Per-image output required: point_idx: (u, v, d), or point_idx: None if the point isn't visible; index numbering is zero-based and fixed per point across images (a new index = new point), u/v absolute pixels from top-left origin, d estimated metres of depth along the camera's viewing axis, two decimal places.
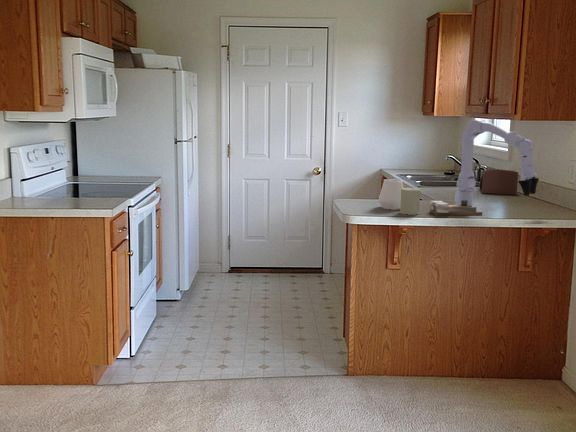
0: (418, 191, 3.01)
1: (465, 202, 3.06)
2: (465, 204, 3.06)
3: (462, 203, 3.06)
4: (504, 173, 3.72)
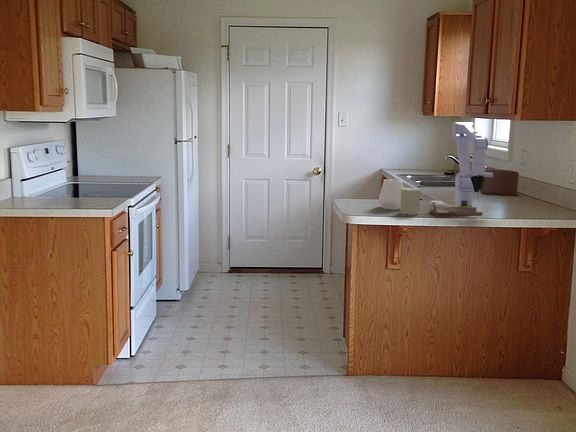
0: (418, 191, 3.01)
1: (465, 202, 3.06)
2: (465, 204, 3.06)
3: (462, 203, 3.06)
4: (504, 173, 3.71)
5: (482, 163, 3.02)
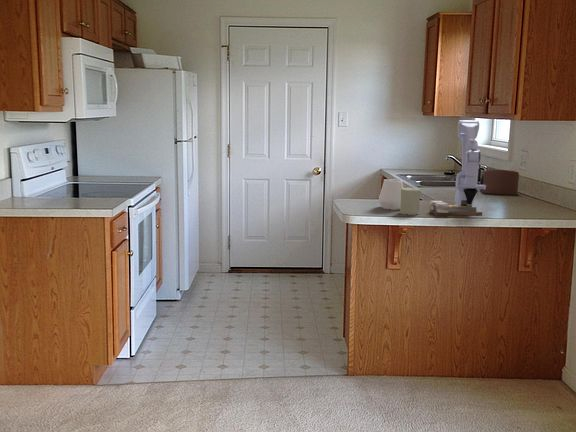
0: (418, 191, 3.01)
1: (465, 202, 3.06)
2: (465, 204, 3.06)
3: (462, 203, 3.06)
4: (505, 173, 3.71)
5: (475, 176, 3.03)
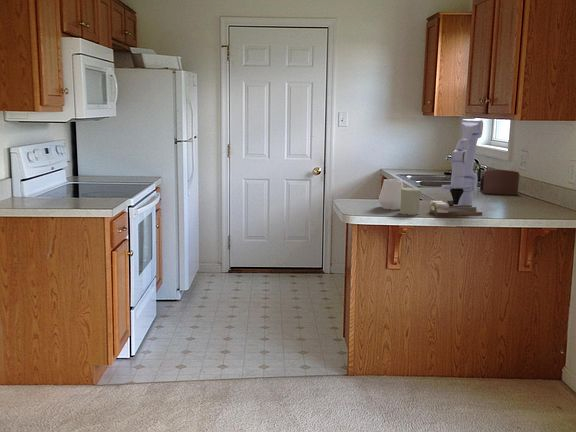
0: (418, 191, 3.01)
1: (451, 202, 3.04)
2: (451, 204, 3.05)
3: (448, 203, 3.05)
4: (505, 173, 3.71)
5: (461, 176, 3.01)
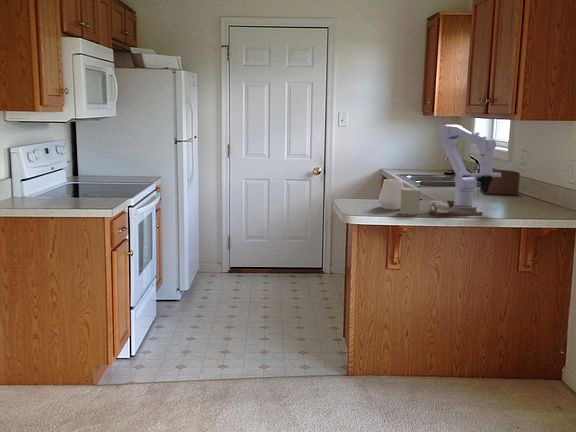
0: (418, 191, 3.01)
1: (451, 202, 3.04)
2: (451, 204, 3.05)
3: (448, 203, 3.05)
4: (505, 173, 3.70)
5: (490, 163, 3.06)
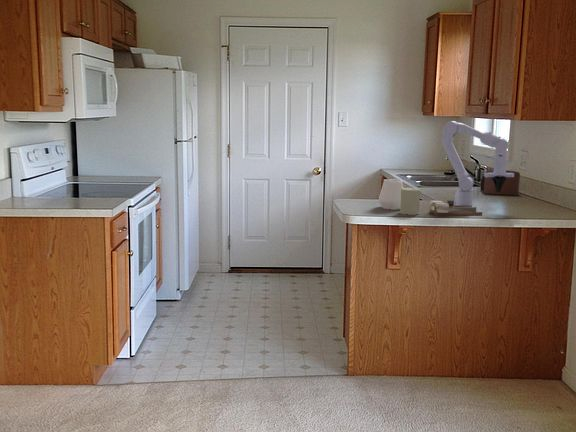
0: (418, 191, 3.01)
1: (451, 202, 3.04)
2: (451, 204, 3.05)
3: (448, 203, 3.05)
4: None
5: (504, 164, 3.11)
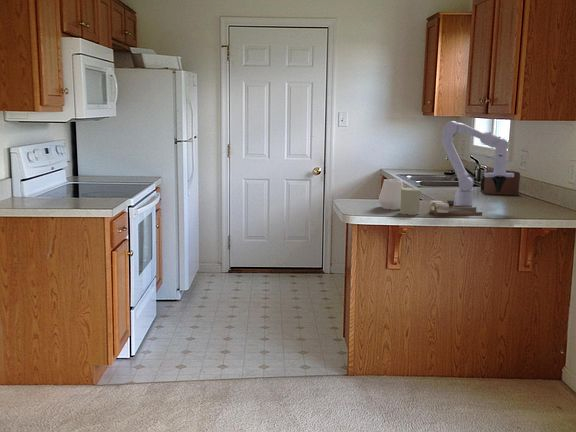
0: (418, 191, 3.01)
1: (451, 202, 3.04)
2: (451, 204, 3.05)
3: (448, 203, 3.05)
4: None
5: (504, 164, 3.11)
